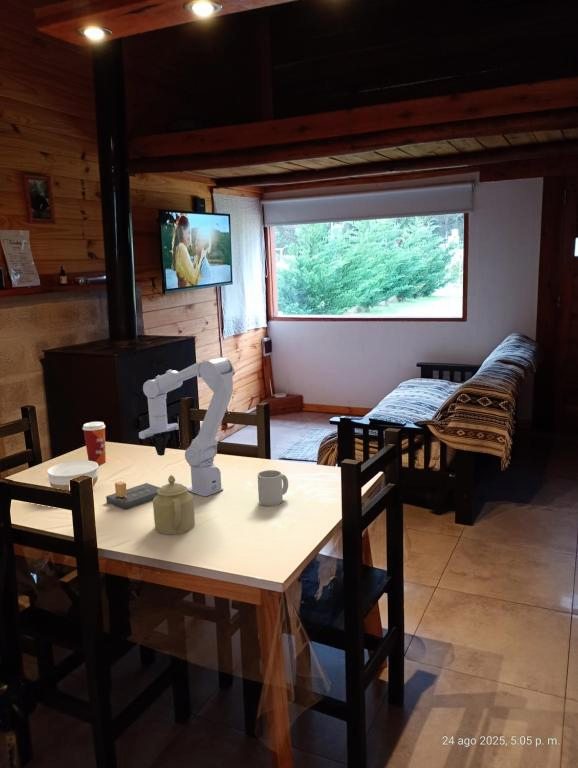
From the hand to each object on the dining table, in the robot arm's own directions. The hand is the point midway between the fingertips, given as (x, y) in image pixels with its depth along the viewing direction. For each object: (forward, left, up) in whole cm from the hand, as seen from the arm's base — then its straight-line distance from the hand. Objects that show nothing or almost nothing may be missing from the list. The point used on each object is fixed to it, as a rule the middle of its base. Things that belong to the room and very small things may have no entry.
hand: (160, 454), depth 211 cm
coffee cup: (+39, +1, -10) cm, 40 cm away
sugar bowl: (-34, +20, -10) cm, 41 cm away
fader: (-4, +19, -8) cm, 21 cm away
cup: (-41, -11, -10) cm, 44 cm away
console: (-5, +14, -10) cm, 18 cm away
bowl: (+18, +22, -10) cm, 30 cm away
